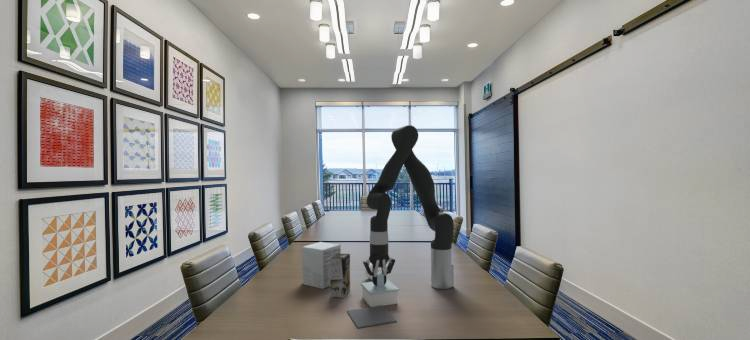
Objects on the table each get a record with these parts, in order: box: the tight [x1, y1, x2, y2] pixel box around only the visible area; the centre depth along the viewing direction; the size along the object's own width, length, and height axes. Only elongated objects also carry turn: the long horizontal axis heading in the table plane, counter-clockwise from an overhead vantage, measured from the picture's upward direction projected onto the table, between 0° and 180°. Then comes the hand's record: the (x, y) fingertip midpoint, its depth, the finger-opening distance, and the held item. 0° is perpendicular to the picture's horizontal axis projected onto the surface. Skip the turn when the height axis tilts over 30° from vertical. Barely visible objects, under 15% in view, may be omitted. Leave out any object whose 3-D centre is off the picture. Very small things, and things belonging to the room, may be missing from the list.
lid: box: [360, 271, 400, 295], centre depth 133 cm, size 12×12×6 cm
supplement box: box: [301, 241, 342, 290], centre depth 155 cm, size 13×13×18 cm
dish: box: [361, 286, 398, 307], centre depth 133 cm, size 11×11×5 cm
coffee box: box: [329, 253, 351, 299], centre depth 141 cm, size 9×6×16 cm
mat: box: [346, 305, 397, 329], centre depth 118 cm, size 14×14×1 cm
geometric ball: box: [364, 262, 382, 281], centre depth 159 cm, size 8×8×8 cm
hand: (379, 284), depth 133 cm, fingers closed on lid, 3 cm apart
